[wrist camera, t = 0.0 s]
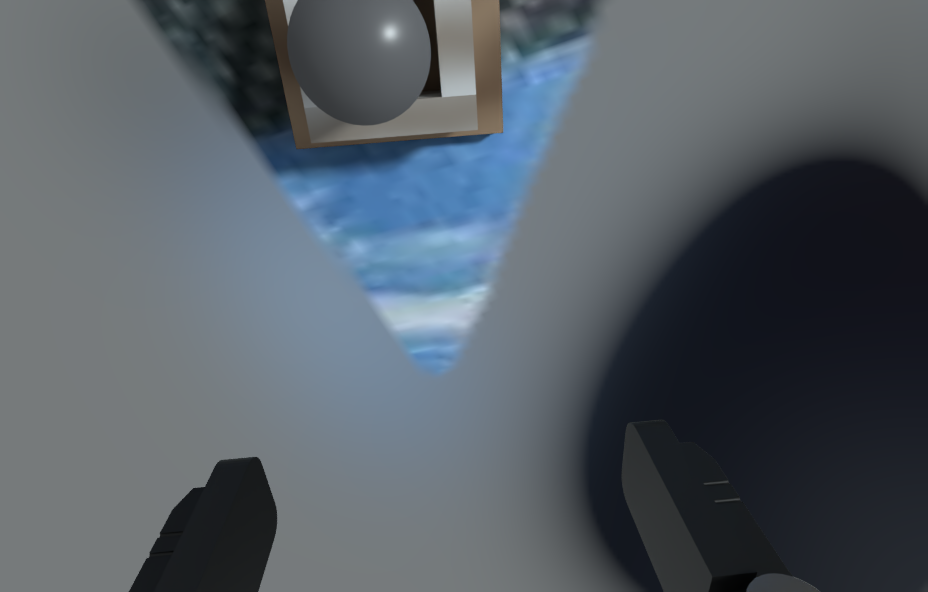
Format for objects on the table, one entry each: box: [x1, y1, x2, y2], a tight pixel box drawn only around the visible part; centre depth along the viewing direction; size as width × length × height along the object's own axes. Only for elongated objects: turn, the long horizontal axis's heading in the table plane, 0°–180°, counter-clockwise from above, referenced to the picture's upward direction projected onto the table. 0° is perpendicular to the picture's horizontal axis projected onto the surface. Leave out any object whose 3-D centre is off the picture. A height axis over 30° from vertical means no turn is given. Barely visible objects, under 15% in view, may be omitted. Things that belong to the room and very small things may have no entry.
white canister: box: [287, 0, 431, 126], centre depth 26 cm, size 5×5×15 cm
